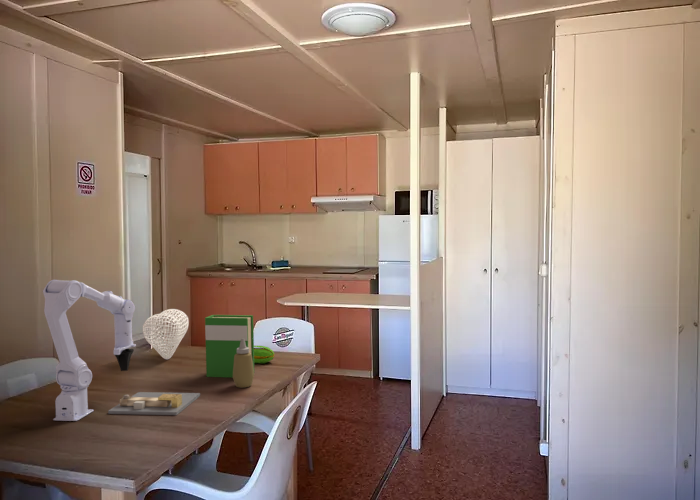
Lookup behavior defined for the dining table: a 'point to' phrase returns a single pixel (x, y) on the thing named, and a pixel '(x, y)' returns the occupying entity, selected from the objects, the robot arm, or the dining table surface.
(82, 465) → the dining table surface
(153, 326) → the heart
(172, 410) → the base plate
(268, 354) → the pencil case
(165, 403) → the link
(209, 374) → the hardback book
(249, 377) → the squeeze bottle
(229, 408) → the dining table surface
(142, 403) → the block
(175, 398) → the keeper
